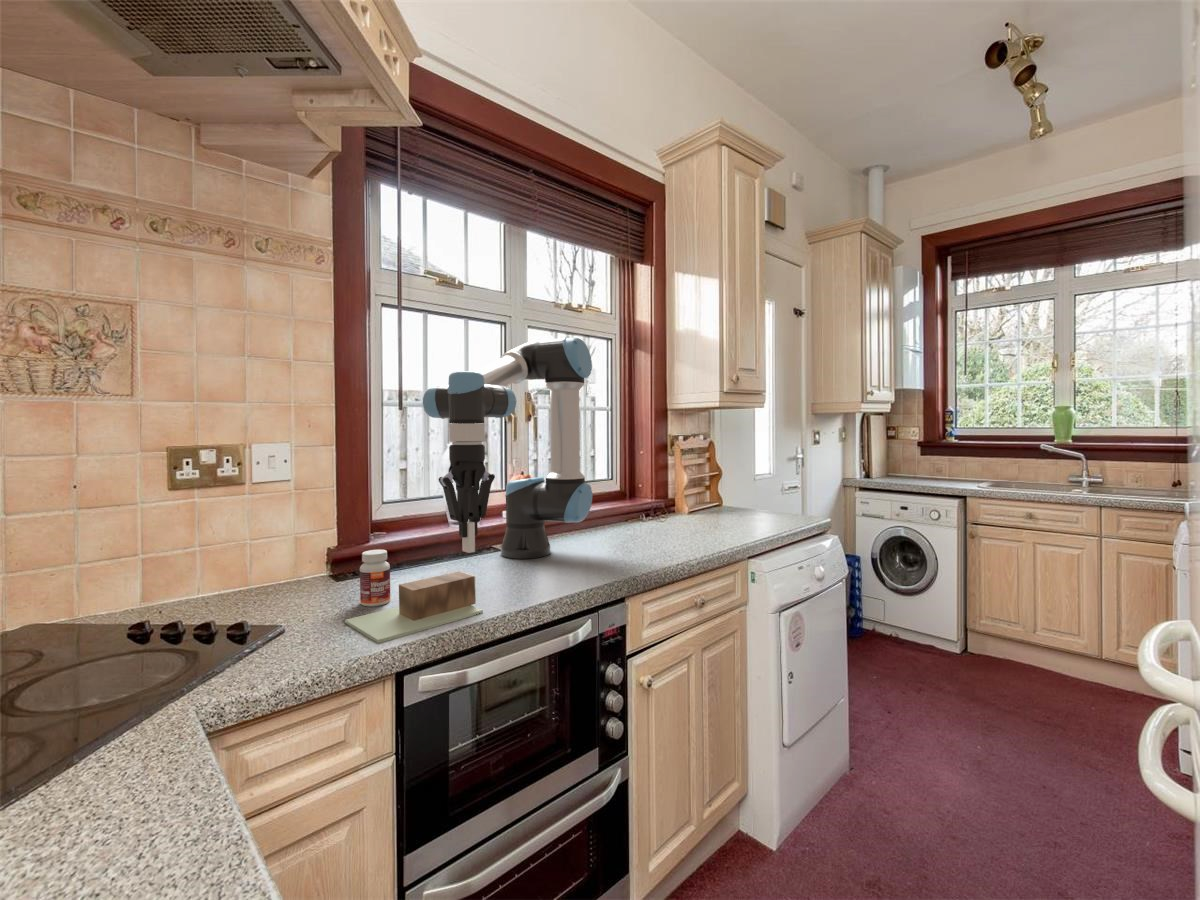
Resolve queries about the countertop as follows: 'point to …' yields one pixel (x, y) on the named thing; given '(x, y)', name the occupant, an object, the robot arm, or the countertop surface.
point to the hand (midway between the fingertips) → (468, 551)
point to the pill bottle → (374, 578)
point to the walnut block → (436, 595)
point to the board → (403, 622)
